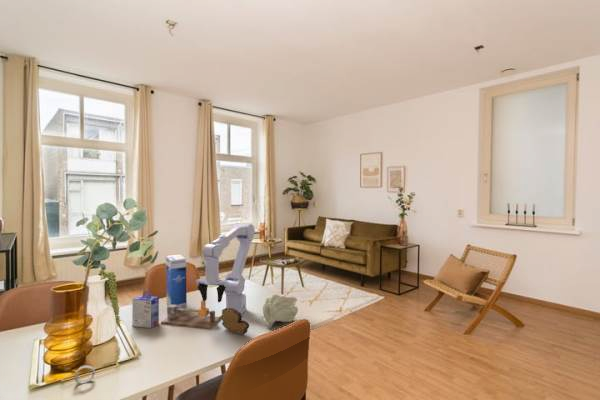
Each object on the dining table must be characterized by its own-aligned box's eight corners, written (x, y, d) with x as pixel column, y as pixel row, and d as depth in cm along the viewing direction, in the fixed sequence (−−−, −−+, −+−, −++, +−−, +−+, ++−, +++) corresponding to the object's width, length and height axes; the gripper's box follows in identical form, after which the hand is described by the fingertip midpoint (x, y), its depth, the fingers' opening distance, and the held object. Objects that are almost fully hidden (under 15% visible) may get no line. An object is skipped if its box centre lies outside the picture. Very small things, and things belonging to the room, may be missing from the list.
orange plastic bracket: (208, 314, 138) (208, 299, 137) (205, 316, 135) (205, 301, 135) (200, 313, 138) (200, 298, 138) (197, 315, 136) (197, 300, 135)
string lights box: (187, 309, 152) (186, 258, 151) (170, 313, 147) (170, 260, 146) (180, 301, 163) (180, 253, 162) (165, 304, 158) (165, 255, 157)
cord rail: (220, 319, 141) (220, 305, 140) (210, 329, 131) (210, 314, 130) (174, 314, 145) (174, 301, 145) (160, 323, 135) (160, 309, 135)
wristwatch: (76, 381, 95) (76, 366, 95) (95, 377, 97) (95, 362, 97) (74, 387, 92) (73, 371, 92) (93, 382, 94) (93, 367, 94)
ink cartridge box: (159, 323, 136) (159, 291, 136) (151, 328, 131) (151, 295, 130) (140, 321, 138) (140, 289, 138) (131, 326, 133) (131, 294, 132)
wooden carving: (252, 334, 126) (252, 310, 126) (245, 338, 122) (245, 314, 122) (223, 325, 135) (223, 302, 134) (216, 329, 131) (216, 306, 130)
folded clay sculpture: (280, 331, 143) (285, 297, 150) (299, 332, 135) (303, 297, 141) (250, 326, 133) (256, 289, 139) (268, 327, 124) (274, 289, 131)
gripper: (192, 272, 132) (192, 302, 133) (223, 274, 130) (223, 305, 130) (200, 268, 139) (201, 297, 140) (230, 270, 137) (230, 299, 137)
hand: (212, 300), depth 135 cm, fingers open, 7 cm apart
